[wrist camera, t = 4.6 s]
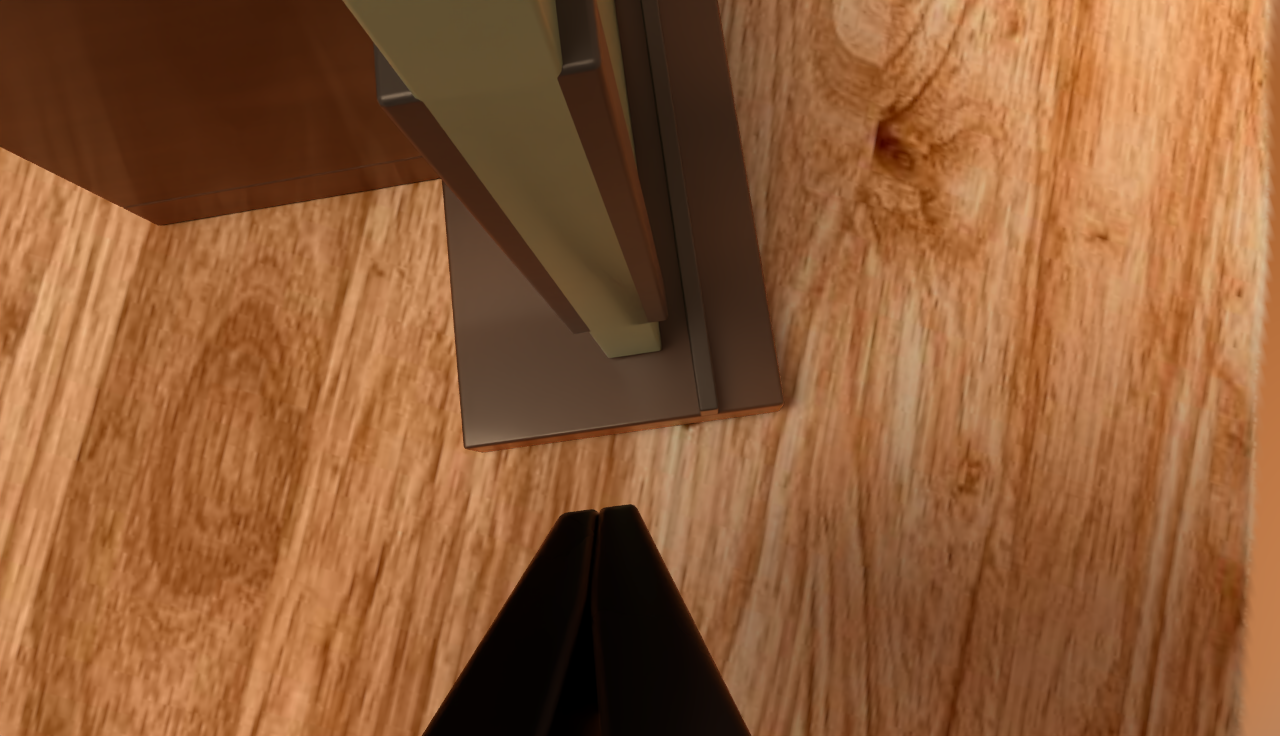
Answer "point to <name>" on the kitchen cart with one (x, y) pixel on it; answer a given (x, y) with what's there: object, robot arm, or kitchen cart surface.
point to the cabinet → (382, 156)
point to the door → (531, 145)
